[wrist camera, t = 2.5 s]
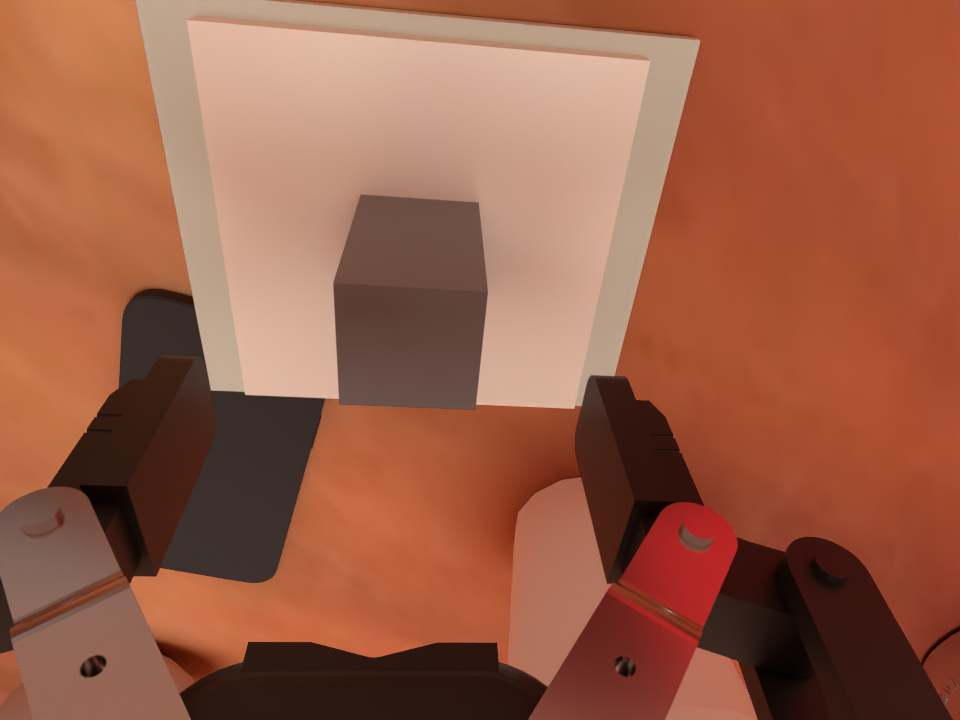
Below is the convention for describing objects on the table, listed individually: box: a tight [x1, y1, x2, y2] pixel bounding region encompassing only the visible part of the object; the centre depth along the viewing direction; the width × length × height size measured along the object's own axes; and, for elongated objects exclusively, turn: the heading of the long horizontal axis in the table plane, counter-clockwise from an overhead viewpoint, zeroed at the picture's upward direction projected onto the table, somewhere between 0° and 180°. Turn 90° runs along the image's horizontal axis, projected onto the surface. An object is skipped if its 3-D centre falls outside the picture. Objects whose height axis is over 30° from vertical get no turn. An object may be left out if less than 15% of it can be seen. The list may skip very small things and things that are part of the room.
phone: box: [119, 289, 325, 583], centre depth 26 cm, size 7×1×15 cm
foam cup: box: [508, 477, 758, 720], centre depth 24 cm, size 10×9×13 cm
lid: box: [187, 16, 651, 410], centre depth 18 cm, size 12×12×6 cm
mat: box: [135, 0, 701, 406], centre depth 21 cm, size 15×13×1 cm
